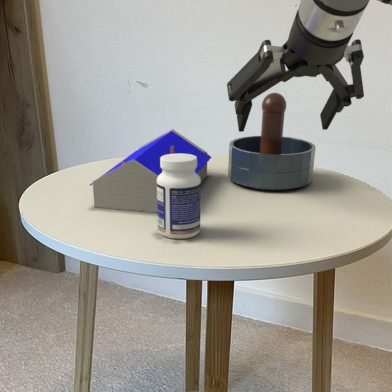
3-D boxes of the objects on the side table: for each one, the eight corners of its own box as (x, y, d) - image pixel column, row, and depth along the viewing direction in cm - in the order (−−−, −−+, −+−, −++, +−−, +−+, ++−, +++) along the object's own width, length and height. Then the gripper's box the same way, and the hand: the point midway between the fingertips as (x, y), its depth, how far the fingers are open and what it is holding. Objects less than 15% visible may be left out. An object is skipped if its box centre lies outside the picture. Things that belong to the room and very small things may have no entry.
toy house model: (180, 214, 87) (180, 163, 83) (89, 206, 89) (85, 156, 86) (211, 175, 105) (212, 131, 101) (135, 169, 108) (133, 126, 104)
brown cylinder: (276, 171, 106) (283, 90, 99) (283, 177, 103) (290, 94, 96) (254, 172, 105) (259, 91, 98) (260, 178, 102) (266, 94, 95)
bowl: (296, 168, 110) (299, 134, 107) (323, 191, 98) (327, 153, 95) (220, 171, 108) (221, 136, 105) (238, 194, 96) (240, 156, 93)
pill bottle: (207, 229, 82) (208, 154, 77) (189, 243, 77) (189, 164, 72) (169, 222, 84) (168, 149, 79) (149, 235, 79) (147, 159, 74)
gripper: (231, 45, 71) (207, 146, 92) (426, 44, 75) (361, 142, 95) (224, -8, 73) (201, 103, 93) (415, -6, 77) (353, 101, 97)
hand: (282, 123), depth 94 cm, fingers open, 13 cm apart
